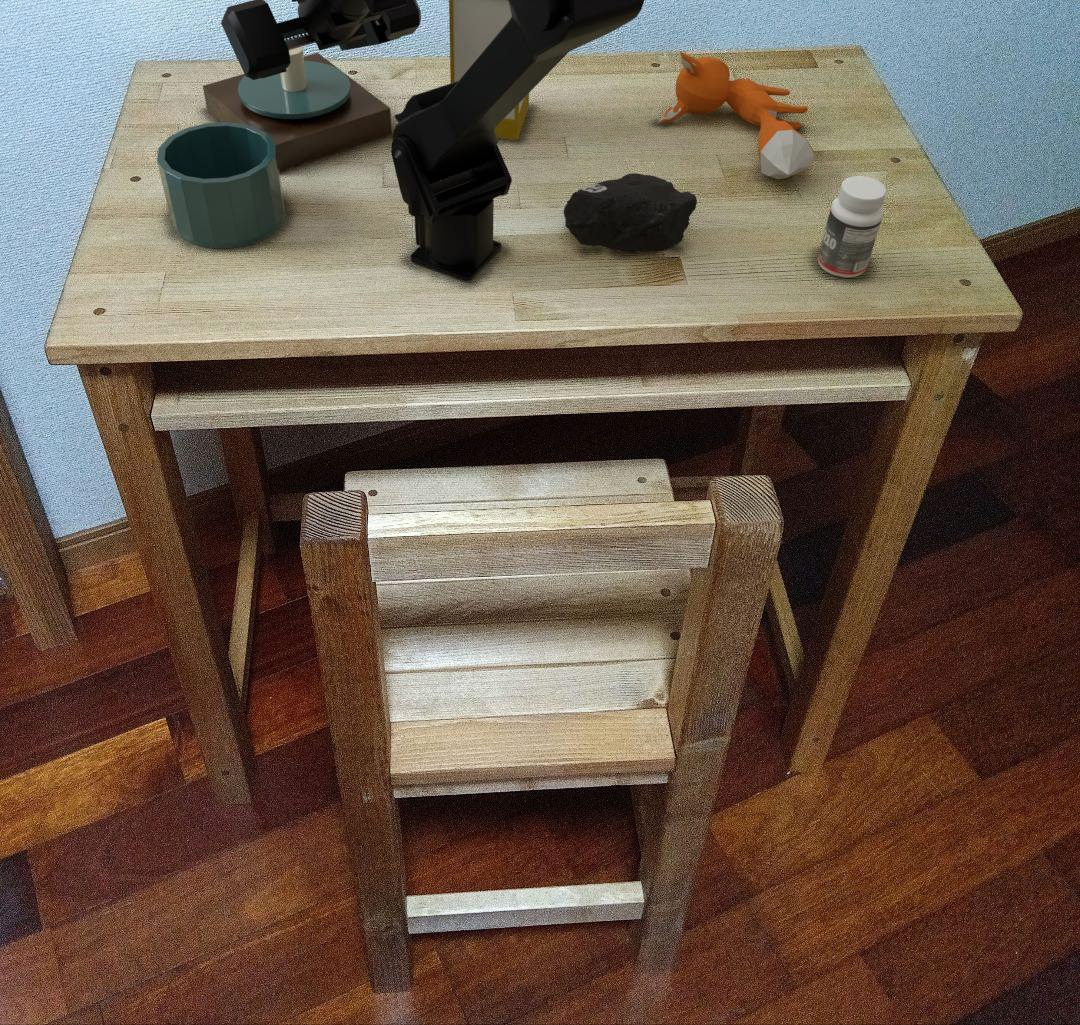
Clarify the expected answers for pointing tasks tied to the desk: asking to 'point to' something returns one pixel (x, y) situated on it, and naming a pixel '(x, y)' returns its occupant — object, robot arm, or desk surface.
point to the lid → (296, 90)
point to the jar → (222, 184)
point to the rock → (630, 214)
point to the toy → (744, 112)
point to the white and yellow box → (481, 48)
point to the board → (306, 121)
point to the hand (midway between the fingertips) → (301, 56)
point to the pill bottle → (852, 227)
